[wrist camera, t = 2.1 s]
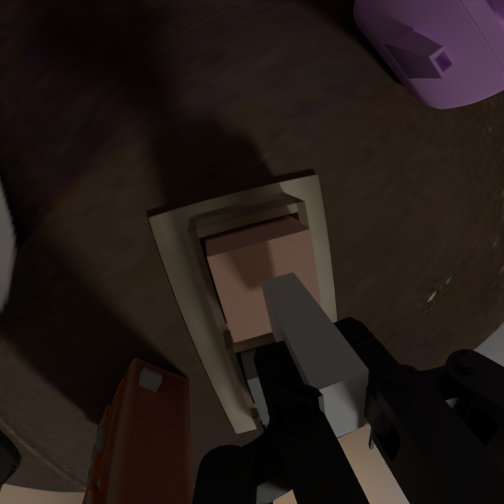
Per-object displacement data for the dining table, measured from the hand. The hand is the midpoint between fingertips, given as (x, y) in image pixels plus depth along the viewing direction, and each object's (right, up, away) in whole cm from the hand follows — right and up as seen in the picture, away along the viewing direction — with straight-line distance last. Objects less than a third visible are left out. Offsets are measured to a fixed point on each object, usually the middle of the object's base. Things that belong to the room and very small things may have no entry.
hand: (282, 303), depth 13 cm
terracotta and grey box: (-12, -13, +11) cm, 21 cm away
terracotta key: (-1, +2, +5) cm, 6 cm away
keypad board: (0, -5, +11) cm, 12 cm away
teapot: (+12, +21, +5) cm, 25 cm away
